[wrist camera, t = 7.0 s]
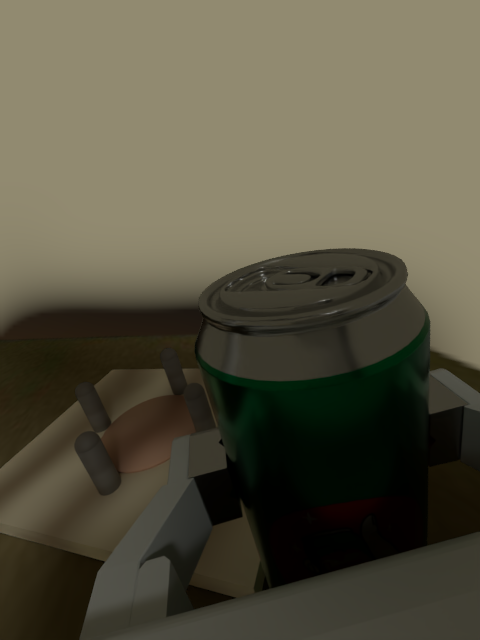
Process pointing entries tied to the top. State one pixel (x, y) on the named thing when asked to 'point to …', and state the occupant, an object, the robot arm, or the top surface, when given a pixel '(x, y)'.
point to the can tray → (120, 472)
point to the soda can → (321, 406)
